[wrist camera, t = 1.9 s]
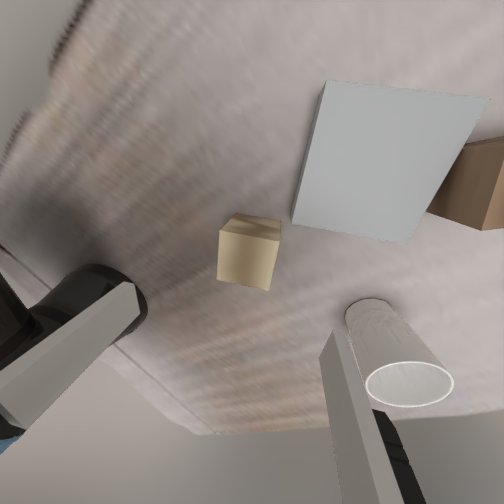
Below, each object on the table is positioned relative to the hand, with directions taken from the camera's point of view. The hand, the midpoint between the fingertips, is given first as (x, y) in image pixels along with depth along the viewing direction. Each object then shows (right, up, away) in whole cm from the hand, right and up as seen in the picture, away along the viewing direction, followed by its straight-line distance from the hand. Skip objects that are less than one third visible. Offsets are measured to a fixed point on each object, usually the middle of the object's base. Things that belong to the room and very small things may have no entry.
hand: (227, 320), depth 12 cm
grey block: (+13, +13, +8) cm, 21 cm away
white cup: (+19, -5, +16) cm, 26 cm away
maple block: (+2, +6, +13) cm, 15 cm away
